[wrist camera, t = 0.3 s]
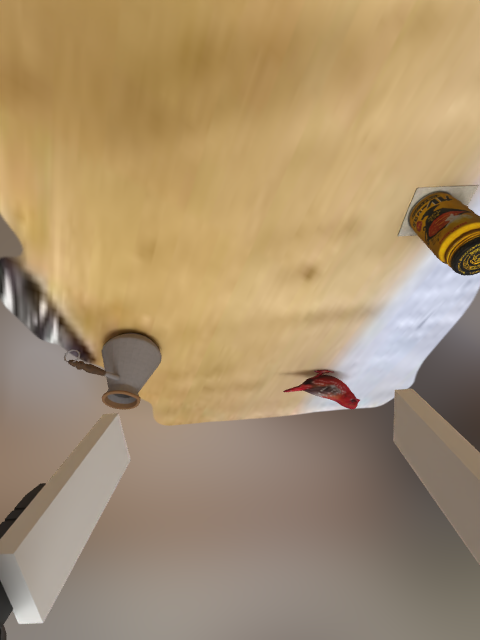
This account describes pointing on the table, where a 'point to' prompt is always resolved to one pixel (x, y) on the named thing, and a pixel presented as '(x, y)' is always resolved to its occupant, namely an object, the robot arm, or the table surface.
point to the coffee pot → (124, 368)
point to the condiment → (446, 226)
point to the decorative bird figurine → (328, 389)
